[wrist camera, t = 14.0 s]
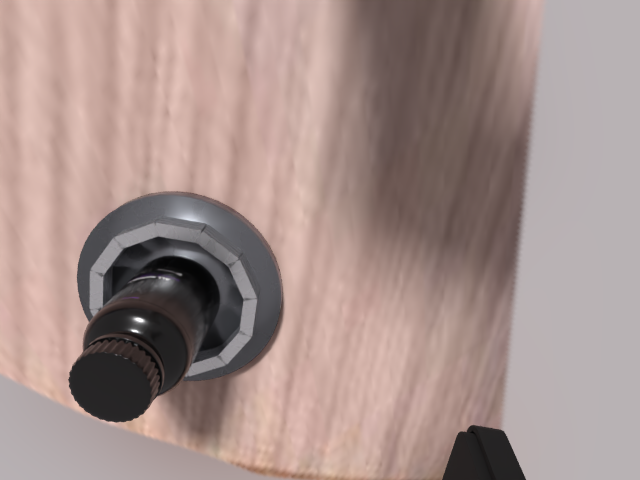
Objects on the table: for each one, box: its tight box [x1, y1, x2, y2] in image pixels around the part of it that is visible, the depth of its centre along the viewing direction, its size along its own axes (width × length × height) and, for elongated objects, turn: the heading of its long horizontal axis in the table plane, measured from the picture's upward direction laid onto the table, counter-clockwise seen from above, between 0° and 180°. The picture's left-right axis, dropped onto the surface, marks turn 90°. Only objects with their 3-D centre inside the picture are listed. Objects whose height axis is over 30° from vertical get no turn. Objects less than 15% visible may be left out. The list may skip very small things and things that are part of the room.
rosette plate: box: [77, 191, 283, 381], centre depth 38 cm, size 16×16×3 cm
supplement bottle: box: [68, 255, 220, 422], centre depth 33 cm, size 7×7×12 cm
